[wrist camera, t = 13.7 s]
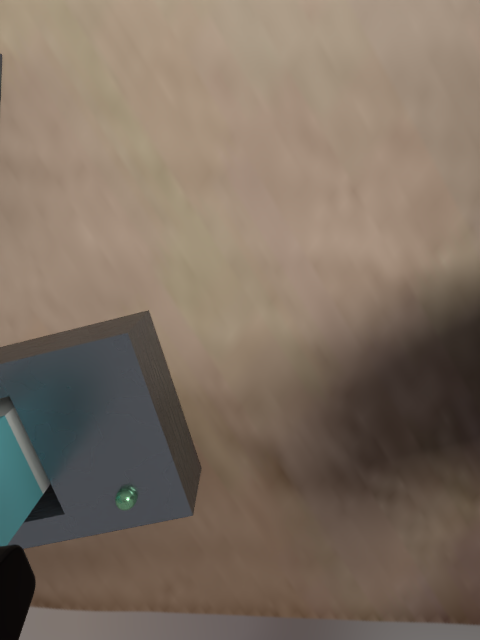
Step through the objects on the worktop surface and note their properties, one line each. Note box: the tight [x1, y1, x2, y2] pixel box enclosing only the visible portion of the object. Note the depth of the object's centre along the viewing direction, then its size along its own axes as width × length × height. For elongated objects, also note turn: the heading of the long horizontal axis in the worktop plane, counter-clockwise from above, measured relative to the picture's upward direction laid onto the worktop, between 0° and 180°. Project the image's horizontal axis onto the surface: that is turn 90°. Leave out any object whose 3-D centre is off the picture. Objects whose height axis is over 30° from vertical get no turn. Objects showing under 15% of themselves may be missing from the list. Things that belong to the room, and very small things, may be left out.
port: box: [0, 311, 201, 549], centre depth 19 cm, size 14×10×4 cm
